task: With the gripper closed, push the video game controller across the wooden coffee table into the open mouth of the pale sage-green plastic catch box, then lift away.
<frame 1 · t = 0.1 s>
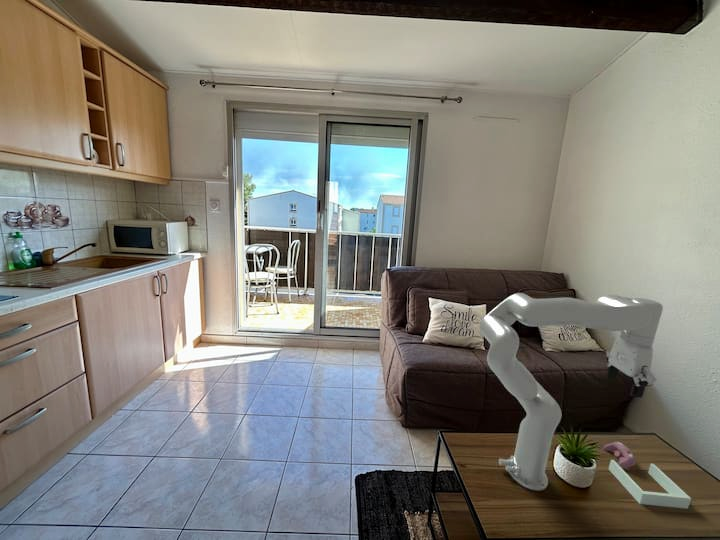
hand: (622, 387, 94), 37 cm above the table, tool pointing down, fingers open, 9 cm apart
video game controller: (617, 460, 112), on the table
catch box: (644, 486, 101), on the table
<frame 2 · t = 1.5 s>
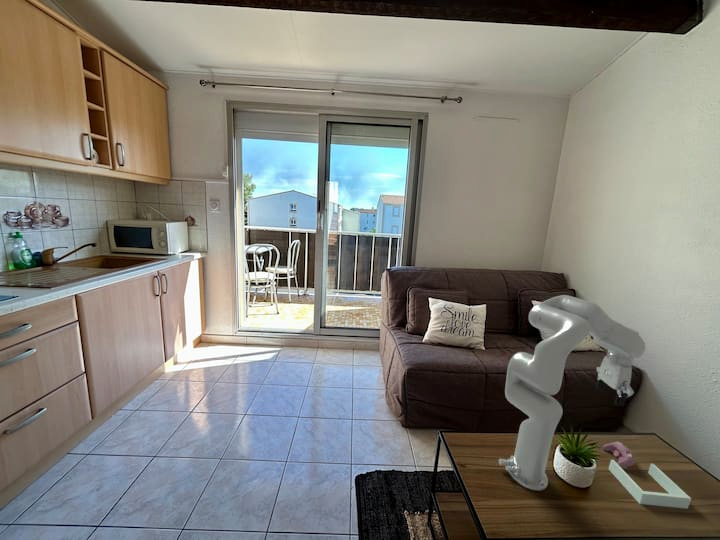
hand: (609, 397, 118), 20 cm above the table, tool pointing down, fingers open, 9 cm apart
nothing on the table moved.
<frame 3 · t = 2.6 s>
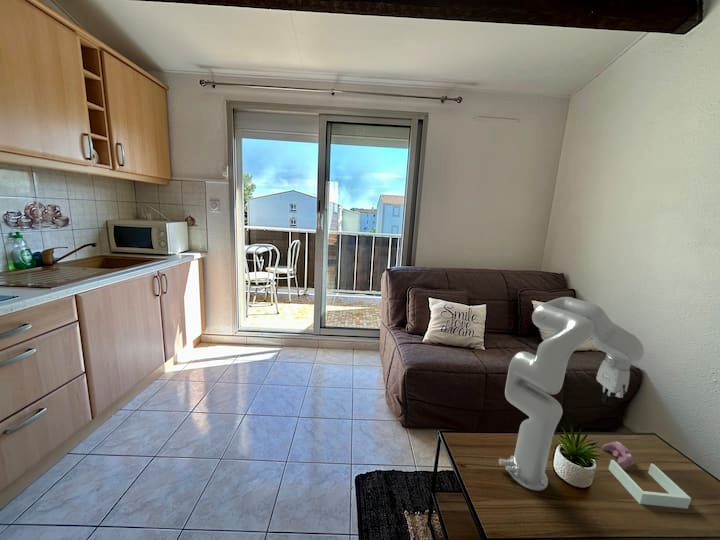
hand: (606, 402, 119), 17 cm above the table, tool pointing down, fingers closed
nothing on the table moved.
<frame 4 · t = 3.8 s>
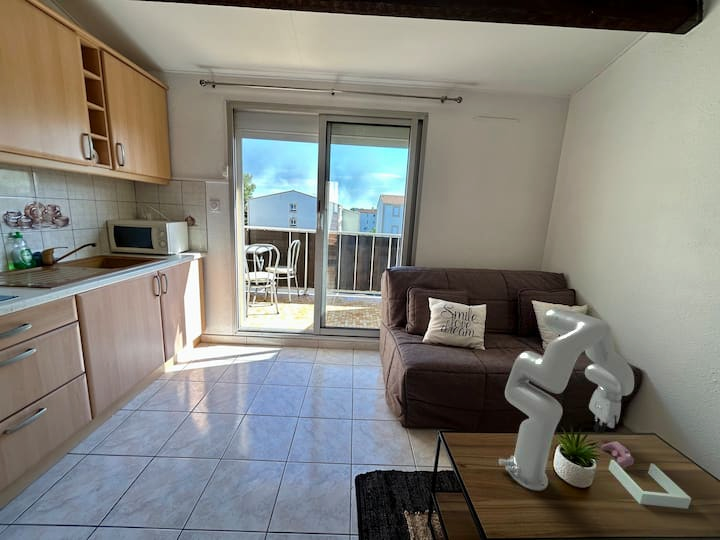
hand: (598, 431, 122), 3 cm above the table, tool pointing down, fingers closed
nothing on the table moved.
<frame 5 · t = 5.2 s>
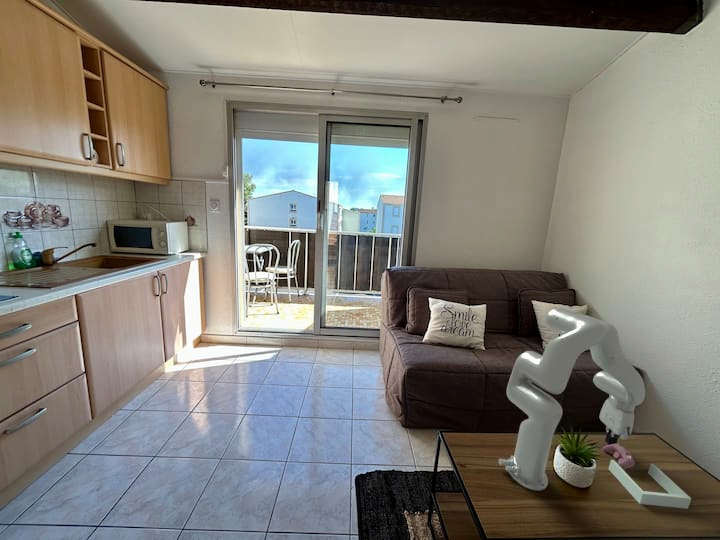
hand: (610, 443, 116), 3 cm above the table, tool pointing down, fingers closed
video game controller: (616, 461, 111), on the table, touching gripper
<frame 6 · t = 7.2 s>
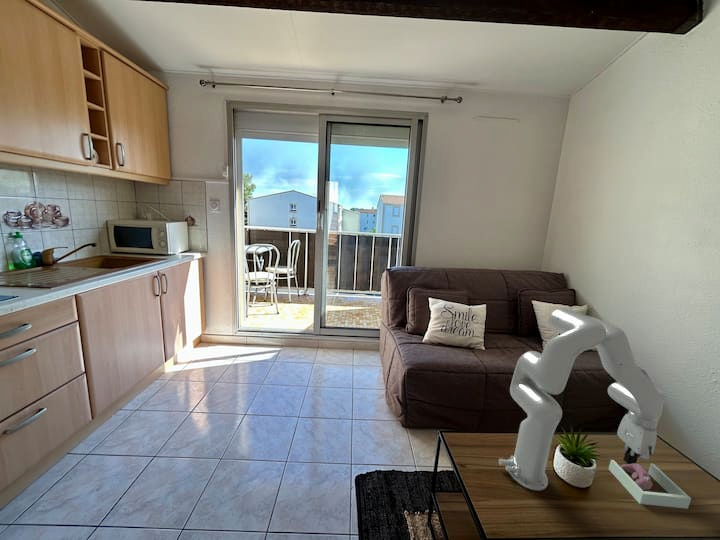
hand: (629, 462, 107), 3 cm above the table, tool pointing down, fingers closed
video game controller: (634, 482, 103), on the table
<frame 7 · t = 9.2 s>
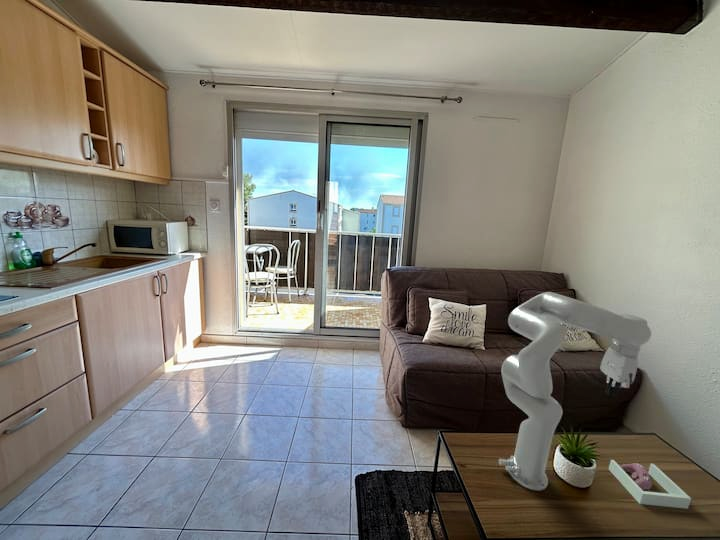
hand: (610, 394, 108), 26 cm above the table, tool pointing down, fingers closed
nothing on the table moved.
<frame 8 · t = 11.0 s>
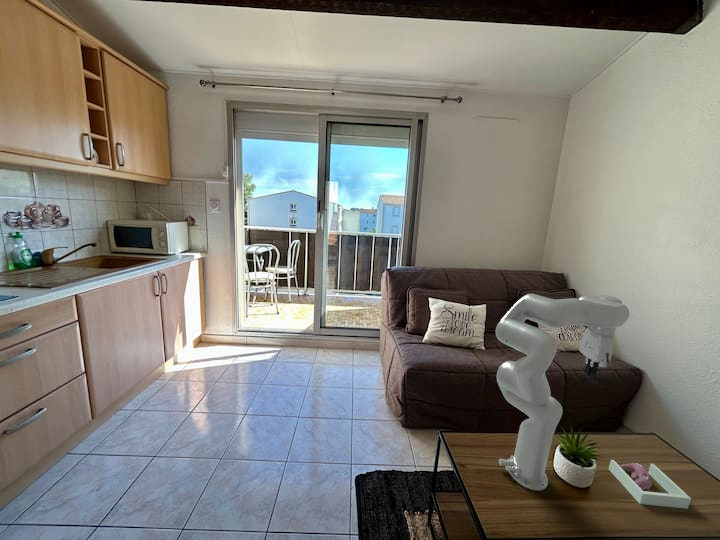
hand: (589, 374, 110), 32 cm above the table, tool pointing down, fingers closed
nothing on the table moved.
at the end: video game controller inside the target area on the catch box (3.3 cm from its centre), point 0.0 cm above the catch box's base; video game controller tilted 0°; video game controller moved 9.6 cm from its start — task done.
